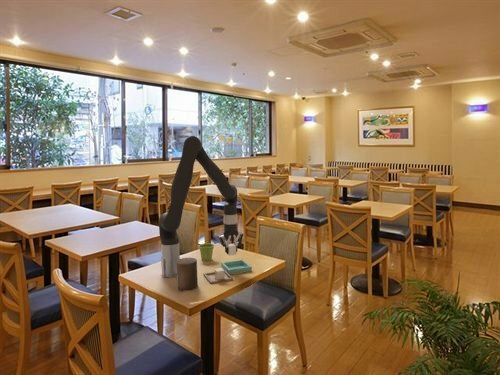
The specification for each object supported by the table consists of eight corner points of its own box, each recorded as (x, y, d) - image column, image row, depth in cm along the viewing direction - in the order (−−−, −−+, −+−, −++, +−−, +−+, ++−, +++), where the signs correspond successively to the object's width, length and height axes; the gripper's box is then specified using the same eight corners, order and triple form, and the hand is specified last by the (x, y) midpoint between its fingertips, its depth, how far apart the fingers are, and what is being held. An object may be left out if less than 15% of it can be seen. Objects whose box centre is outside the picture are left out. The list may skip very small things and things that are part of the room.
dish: (229, 275, 186) (228, 270, 185) (221, 267, 198) (221, 262, 197) (251, 271, 191) (251, 266, 190) (242, 264, 203) (242, 259, 202)
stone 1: (217, 281, 177) (216, 271, 176) (214, 278, 180) (214, 269, 180) (224, 279, 178) (224, 270, 178) (222, 277, 182) (221, 267, 181)
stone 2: (229, 255, 190) (229, 246, 189) (226, 253, 193) (226, 244, 193) (236, 254, 191) (235, 245, 191) (233, 252, 195) (233, 243, 194)
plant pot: (206, 256, 219) (205, 242, 218) (217, 258, 213) (217, 244, 212) (195, 260, 211) (195, 246, 210) (207, 263, 206) (206, 248, 205)
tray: (210, 284, 174) (210, 282, 173) (203, 276, 185) (203, 273, 185) (233, 281, 178) (233, 278, 178) (225, 272, 190) (225, 269, 190)
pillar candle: (199, 290, 167) (198, 259, 166) (178, 292, 165) (177, 261, 163) (196, 283, 177) (195, 253, 175) (176, 285, 174) (175, 255, 172)
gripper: (220, 225, 184) (221, 256, 186) (245, 222, 189) (246, 253, 192) (215, 222, 191) (216, 252, 193) (240, 219, 196) (241, 249, 198)
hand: (231, 252), depth 192 cm, fingers closed on stone 2, 4 cm apart
